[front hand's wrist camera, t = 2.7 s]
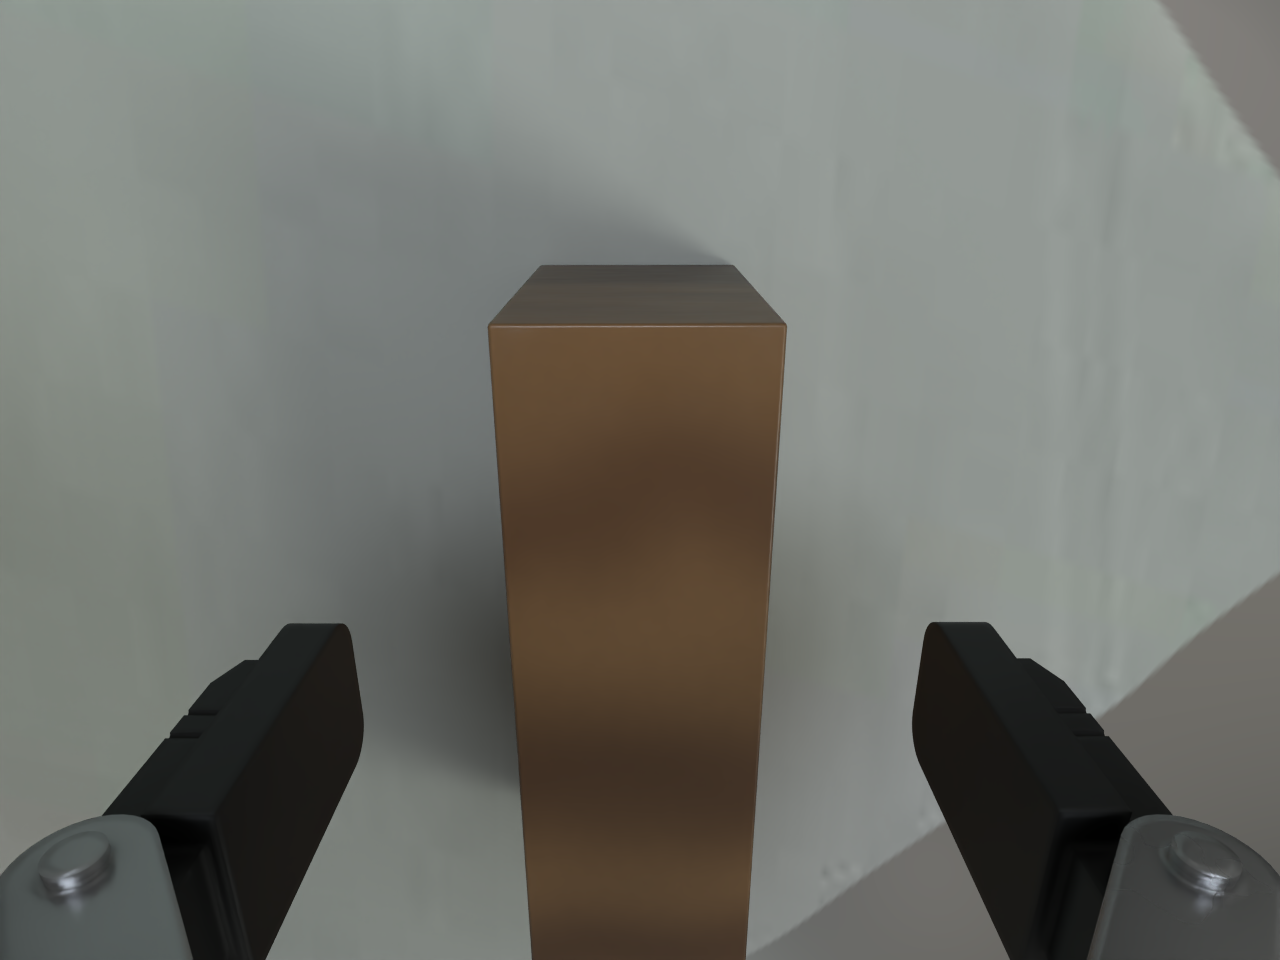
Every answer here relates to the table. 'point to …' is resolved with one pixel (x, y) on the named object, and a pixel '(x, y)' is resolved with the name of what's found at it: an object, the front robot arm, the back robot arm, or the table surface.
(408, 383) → the table surface
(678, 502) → the box
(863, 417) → the table surface
